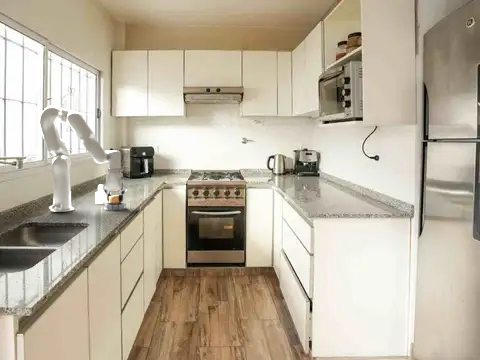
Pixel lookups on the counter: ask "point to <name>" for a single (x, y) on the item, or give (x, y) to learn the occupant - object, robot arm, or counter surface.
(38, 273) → the counter surface
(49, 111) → the robot arm
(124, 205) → the faceted metal bowl
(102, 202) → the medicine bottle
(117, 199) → the pale yellow rounded lump
